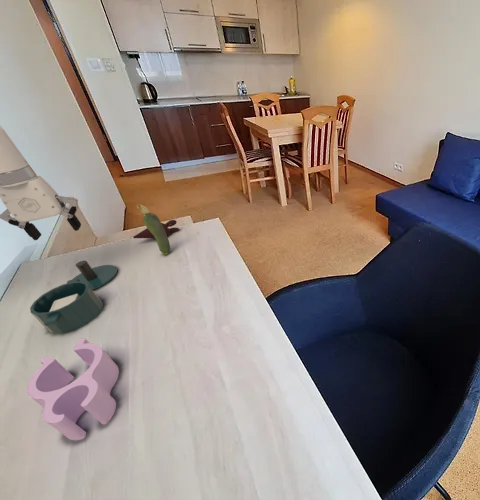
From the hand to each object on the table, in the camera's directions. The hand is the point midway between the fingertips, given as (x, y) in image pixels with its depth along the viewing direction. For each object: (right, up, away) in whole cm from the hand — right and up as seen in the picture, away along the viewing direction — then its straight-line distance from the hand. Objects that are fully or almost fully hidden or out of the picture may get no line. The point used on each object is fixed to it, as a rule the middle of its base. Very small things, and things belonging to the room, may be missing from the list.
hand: (58, 233), depth 86 cm
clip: (+28, -36, -23) cm, 51 cm away
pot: (+8, -23, -3) cm, 25 cm away
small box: (+7, -23, -3) cm, 24 cm away
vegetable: (+20, -7, +20) cm, 29 cm away
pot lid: (+1, -14, +10) cm, 17 cm away
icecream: (+11, -1, +29) cm, 31 cm away
